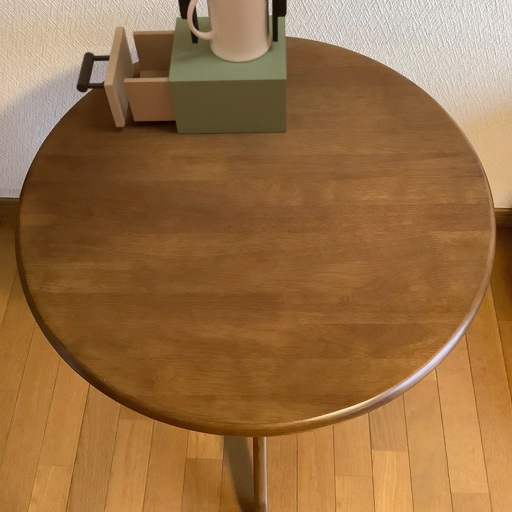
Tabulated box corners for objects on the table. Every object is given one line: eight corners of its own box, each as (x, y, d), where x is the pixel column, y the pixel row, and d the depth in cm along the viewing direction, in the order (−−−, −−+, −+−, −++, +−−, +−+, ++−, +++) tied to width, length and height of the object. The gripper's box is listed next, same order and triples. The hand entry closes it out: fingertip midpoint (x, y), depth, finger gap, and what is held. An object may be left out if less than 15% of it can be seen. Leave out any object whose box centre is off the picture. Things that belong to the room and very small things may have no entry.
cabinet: (178, 133, 93) (168, 81, 84) (184, 70, 100) (176, 17, 92) (286, 132, 92) (286, 78, 84) (284, 68, 100) (285, 14, 92)
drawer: (82, 127, 93) (67, 85, 86) (95, 70, 100) (82, 27, 93) (215, 125, 92) (210, 82, 85) (219, 67, 99) (215, 24, 92)
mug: (206, 79, 84) (196, -2, 74) (178, 44, 89) (165, -37, 79) (282, 49, 87) (282, -33, 77) (252, 16, 92) (248, -65, 82)
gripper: (113, -118, 66) (149, 56, 85) (331, -124, 66) (320, 52, 84) (122, -151, 71) (155, 21, 89) (327, -158, 70) (317, 17, 88)
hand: (235, 36), depth 87 cm, fingers open, 10 cm apart
